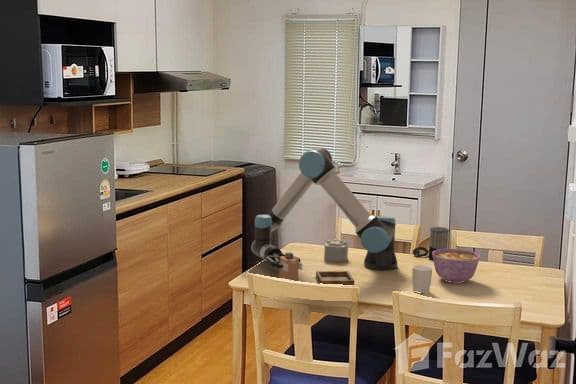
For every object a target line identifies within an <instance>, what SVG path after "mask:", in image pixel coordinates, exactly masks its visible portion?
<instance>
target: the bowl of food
mask: <svg viewBox="0 0 576 384" xmlns="http://www.w3.org/2000/svg"><path fill="white" fill-rule="evenodd" d="M432 255H433V266H434V270H435V273H436V274H437V276H438V277H439V278H441V279H443V280H444V281H445V280H447V281H451V282H462V281H464V282H467V281H469V280H471V279H472V278H473V277H474V276H475V273H476V270H477V267H478V264H479V261H480V258H481V255H480V254H479V253H477V252H474V251H471V250H466V249H460V248H448V249H438V250H435V251H433V252H432ZM447 281H446V282H447Z"/></svg>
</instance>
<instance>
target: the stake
mask: <svg viewBox="0 0 576 384" xmlns="http://www.w3.org/2000/svg"><path fill="white" fill-rule="evenodd" d="M293 256H294V253H293V252H285V258H286V259H293Z"/></svg>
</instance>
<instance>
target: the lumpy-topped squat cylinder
mask: <svg viewBox="0 0 576 384" xmlns="http://www.w3.org/2000/svg"><path fill="white" fill-rule="evenodd" d="M323 253H324V255H323V260H324V261H326V262H335V263H344V262H346V261H347V260H348V256H349V255H348V254H349V244H348V242H347V241H345V240H343V239H340V240H338V239H337V238H334V239H333V240H331V239H328V240H326V243H325V244H324V252H323Z"/></svg>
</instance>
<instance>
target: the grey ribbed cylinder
mask: <svg viewBox="0 0 576 384" xmlns="http://www.w3.org/2000/svg"><path fill="white" fill-rule="evenodd" d="M429 230H430V231H429V232H430V233H429V247H428V248H429V249H427V248H426V247H424V246H419V247H416V248H414V249H413V250H412V254H413V255H414V256H416V257H418V258H420V257H421V258H422V256H424V257H426V256H428V257H427V259H428V258H429V259H428V260H430V261H433V255H432V252H433V251H435V250H438V249H449V248H448V246H449V232H450V229H449V228H447V227H441V226H432V227H430V228H429ZM420 251H424V253H422V254H420ZM433 262H434V261H433Z"/></svg>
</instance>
